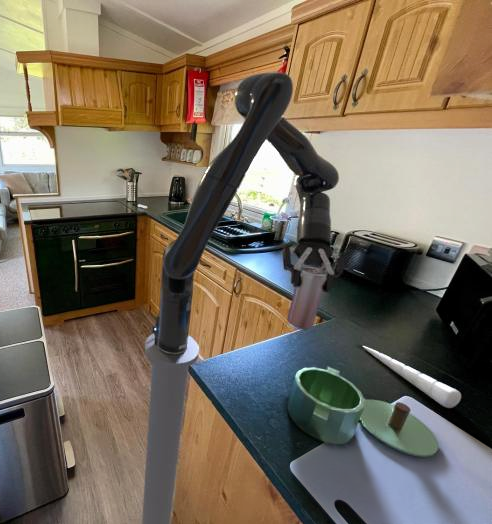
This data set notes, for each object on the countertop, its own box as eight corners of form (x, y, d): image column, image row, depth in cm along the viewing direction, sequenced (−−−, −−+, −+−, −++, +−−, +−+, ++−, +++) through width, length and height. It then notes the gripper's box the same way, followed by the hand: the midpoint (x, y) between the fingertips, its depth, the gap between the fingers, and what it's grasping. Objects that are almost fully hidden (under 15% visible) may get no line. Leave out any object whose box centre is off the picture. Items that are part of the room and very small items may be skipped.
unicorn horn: (373, 346, 90) (377, 333, 89) (459, 409, 68) (467, 393, 67) (359, 347, 90) (364, 334, 88) (441, 410, 68) (450, 394, 66)
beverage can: (282, 317, 77) (295, 265, 72) (305, 319, 77) (319, 266, 72) (292, 330, 71) (307, 274, 66) (317, 331, 71) (333, 276, 66)
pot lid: (352, 430, 61) (361, 408, 59) (358, 394, 71) (365, 374, 69) (440, 473, 53) (453, 450, 51) (432, 425, 63) (443, 404, 61)
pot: (277, 428, 61) (285, 396, 58) (297, 382, 75) (305, 354, 72) (347, 467, 54) (361, 434, 51) (356, 408, 67) (367, 379, 64)
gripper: (287, 218, 74) (282, 277, 68) (351, 224, 70) (353, 288, 63) (280, 233, 81) (275, 288, 74) (339, 240, 76) (339, 299, 70)
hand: (311, 288), depth 69 cm, fingers closed on beverage can, 6 cm apart
